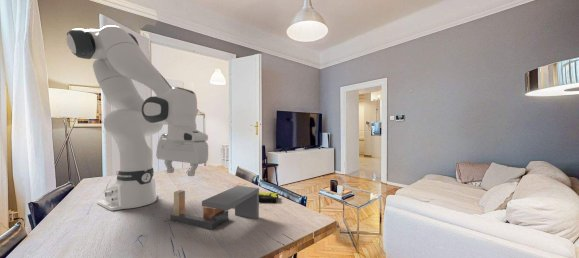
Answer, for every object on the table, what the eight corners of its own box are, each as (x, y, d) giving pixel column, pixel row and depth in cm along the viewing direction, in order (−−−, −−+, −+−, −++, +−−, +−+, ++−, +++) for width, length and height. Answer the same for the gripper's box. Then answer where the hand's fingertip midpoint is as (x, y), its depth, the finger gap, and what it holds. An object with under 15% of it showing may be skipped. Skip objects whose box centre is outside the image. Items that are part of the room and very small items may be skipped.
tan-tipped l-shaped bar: (169, 220, 72) (170, 191, 72) (189, 211, 80) (189, 185, 80) (211, 229, 66) (211, 198, 66) (228, 219, 74) (228, 190, 74)
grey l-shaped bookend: (201, 236, 62) (201, 201, 62) (237, 213, 78) (237, 185, 78) (227, 242, 58) (227, 205, 58) (258, 217, 75) (258, 188, 75)
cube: (203, 221, 72) (203, 206, 72) (213, 215, 77) (213, 202, 77) (214, 224, 70) (215, 209, 70) (224, 218, 75) (224, 204, 75)
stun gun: (275, 203, 82) (278, 192, 97) (227, 202, 83) (237, 191, 98) (275, 211, 82) (278, 198, 97) (227, 209, 83) (237, 197, 98)
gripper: (152, 133, 74) (150, 172, 74) (198, 136, 67) (196, 179, 67) (168, 133, 79) (166, 169, 80) (212, 135, 73) (210, 175, 73)
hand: (180, 174), depth 73 cm, fingers open, 8 cm apart
